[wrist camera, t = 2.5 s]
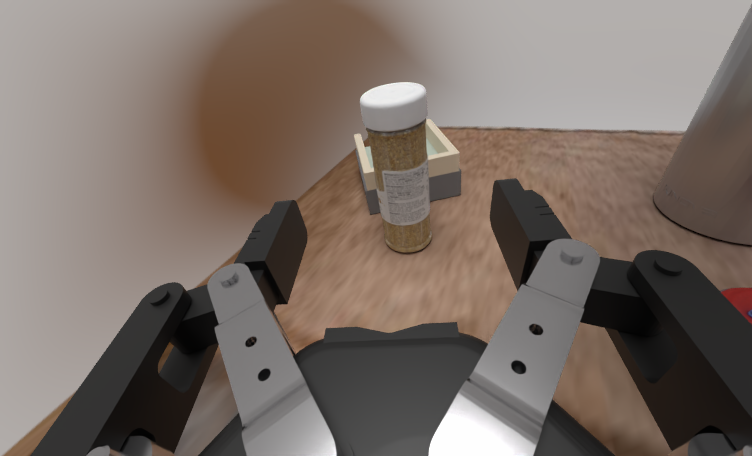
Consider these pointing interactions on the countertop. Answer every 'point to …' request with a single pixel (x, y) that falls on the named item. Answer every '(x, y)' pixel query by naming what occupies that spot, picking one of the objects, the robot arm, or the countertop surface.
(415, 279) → the countertop surface
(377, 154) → the sprinkles bottle
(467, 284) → the countertop surface
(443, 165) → the shallow square tray
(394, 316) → the countertop surface
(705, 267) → the countertop surface
